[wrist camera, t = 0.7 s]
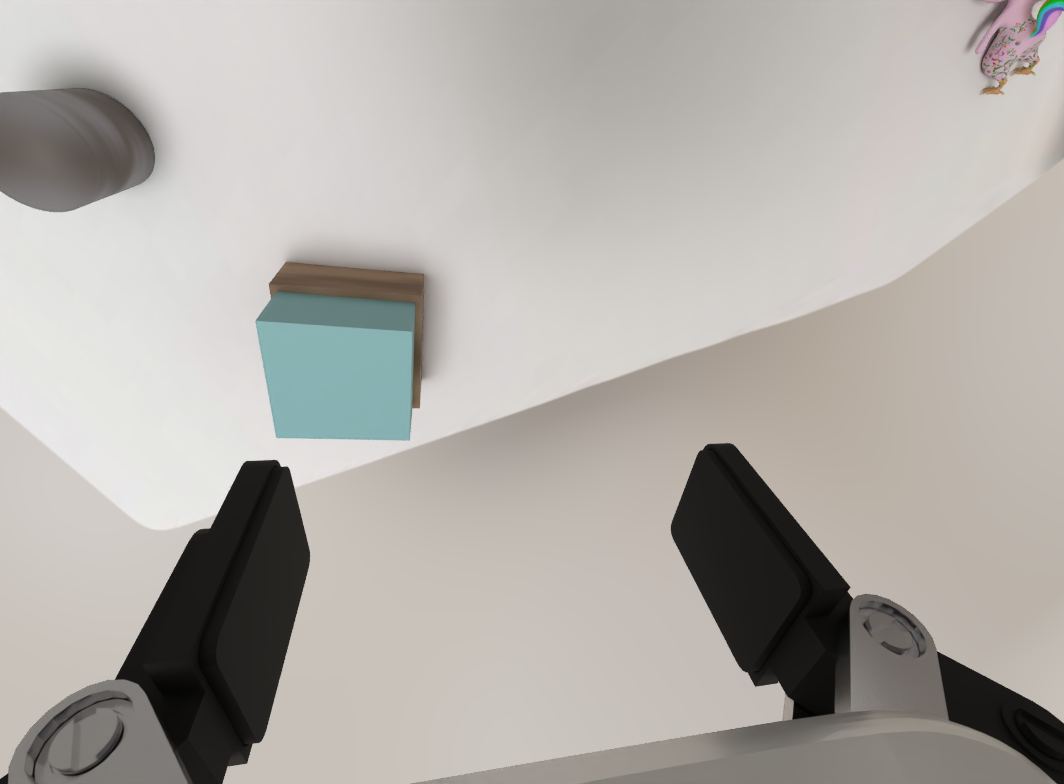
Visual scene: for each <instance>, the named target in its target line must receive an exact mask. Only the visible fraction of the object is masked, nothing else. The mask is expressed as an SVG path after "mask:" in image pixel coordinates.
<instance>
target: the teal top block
mask: <svg viewBox="0 0 1064 784" xmlns="http://www.w3.org/2000/svg"><path fill="white" fill-rule="evenodd" d="M256 326H257V332H258V338H259V343H260V349H261V354H262V360H263V366H264V371H265V377H266V382H267V388H268V394H269V399H270V405H271V410H272V416H273V422H274V427H275V433H276V438H310V439H362V440H410V429H411V417H412V405H413V367H414V329H415V303H412V302H400V301H388V300H376V299H364V298H352V297H340V296H328V295H316V294H304V293H292V292H280V291H277V292H276V293H275V295H274V296H273V297H272V299H271V300H270V302H269V303H268V304H267V306H266V307H265V308H264V310H263V311H262V313H261V314H260V315H259V317H258V318H257V319H256Z"/></svg>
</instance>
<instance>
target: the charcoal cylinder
mask: <svg viewBox="0 0 1064 784" xmlns="http://www.w3.org/2000/svg"><path fill="white" fill-rule="evenodd" d="M154 163H155V154H154V148H153V145H152V142H151V139H150V137H149V135H148V133H147V131H146V130H145V128H144V126H143V125H142V124H141V122H140V121H139V120H138V119H137V118H136V116H135V115H134V114H133V113H132V112H131V111H130V110H128V109H127V108H126V107H125V106H124V105H122V104H121V103H119V102H118V101H116V100H115V99H113V98H111V97H109V96H108V95H105V94H103V93H101V92H98V91H95V90H90V89H84V88H72V89H54V90H37V91H20V92H2V93H0V191H1V192H2V193H4V194H5V195H7V196H9V197H10V198H12V199H14V200H16V201H18V202H20V203H22V204H24V205H27V206H29V207H32V208H35V209H39V210H43V211H49V212H67V211H71V210H75V209H77V208H80V207H82V206H85V205H87V204H90V203H93V202H95V201H98V200H100V199H103V198H105V197H108V196H111V195H113V194H116V193H118V192H121V191H123V190H126V189H129V188H131V187H134V186H136V185H139V184H141V183H142V182H144V181H145V180H146V179H147V178H148V177H149V176H150V175H151V173H152V171H153V168H154Z"/></svg>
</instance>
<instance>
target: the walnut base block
mask: <svg viewBox="0 0 1064 784" xmlns="http://www.w3.org/2000/svg"><path fill="white" fill-rule="evenodd" d="M423 287H424V274H415V273H403V272H392V271H380V270H369V269H357V268H346V267H334V266H323V265H311V264H300V263H288V262H286V263H285V264H284V265H283V267H282V268H281V269H280V271H279V272H278V273H277V274H276V276H275V277H274V278H273V279H272V281H271V282H270V283H269V288H270V294H271V299H272V297H273V296H274V295H275V293H276V292H277V291H280V292H292V293H304V294H316V295H328V296H340V297H352V298H364V299H376V300H388V301H400V302H412V303H415V329H414V367H413V405H412V408H420V393H421V371H422V329H423Z"/></svg>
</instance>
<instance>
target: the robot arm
mask: <svg viewBox="0 0 1064 784" xmlns="http://www.w3.org/2000/svg"><path fill="white" fill-rule="evenodd" d="M671 534H672V537H673V539H674V541H675V543H676V545H677V547H678V549H679V551H680V553H681V555H682V557H683V559H684V561H685V563H686V565H687V567H688V569H689V570H690V572H691V574H692V576H693V578H694V580H695V582H696V584H697V586H698V588H699V590H700V592H701V594H702V596H703V598H704V599H705V602H706V603H707V605H708V607H709V609H710V611H711V613H712V615H713V617H714V619H715V621H716V623H717V625H718V627H719V628H720V630H721V632H722V634H723V636H724V638H725V640H726V642H727V644H728V646H729V648H730V650H731V652H732V654H733V656H734V658H735V660H736V662H737V663H738V665H739V667H740V668H741V669H742V670H743V671H745V672H748V674H749V676H750V678H751V680H752V681H753V683H754V685H755V686H763V685H769V684H775V683H778V681H779V683H780V684H781V686H782V688H783V690H784V691H785V703H784V711H783V721H779V722H773V723H767V724H761V725H755V726H749V727H742V728H736V729H730V730H725V731H718V732H712V733H706V734H700V735H694V736H687V737H681V738H676V739H669V740H663V741H657V742H651V743H645V744H640V745H633V746H628V747H622V748H616V749H610V750H604V751H598V752H592V753H586V754H580V755H574V756H568V757H563V758H557V759H551V760H545V761H539V762H533V763H527V764H521V765H515V766H510V767H504V768H498V769H493V770H487V771H482V772H475V773H470V774H464V775H458V776H452V777H447V778H441V779H436V780H429V781H424V782H419V783H412V784H1064V723H1062V722H1061V721H1060V720H1059V719H1057V718H1056V717H1055V716H1054V715H1052V714H1051V713H1050V712H1049V711H1047V710H1046V709H1044V708H1043V707H1041V706H1039V705H1038V704H1036V703H1034V702H1033V701H1031V700H1029V699H1027V698H1025V697H1023V696H1022V695H1020V694H1018V693H1016V692H1014V691H1012V690H1010V689H1008V688H1006V687H1004V686H1002V685H1000V684H998V683H996V682H994V681H993V680H991V679H989V678H987V677H985V676H983V675H981V674H979V673H978V672H976V671H974V670H972V669H970V668H968V667H966V666H964V665H962V664H960V663H958V662H956V661H955V660H953V659H951V658H949V657H947V656H945V655H943V654H941V653H939V652H937V650H936V647H935V644H934V641H933V639H932V637H931V635H930V634H929V632H928V631H927V629H926V628H925V626H924V625H923V624H922V623H921V622H920V621H919V620H918V619H917V618H916V617H915V616H914V615H913V614H911V613H910V612H909V611H907V610H906V609H905V608H903V607H902V606H900V605H898V604H897V603H895V602H893V601H891V600H889V599H886V598H883V597H880V596H878V595H871V594H863V595H859V596H857V597H855V598H854V599H853V598H852V597H851V596H850V594H849V593H848V592H847V591H848V590H849V588H850V586H849V585H848V584H847V582H846V581H845V580H844V579H843V578H842V576H841V575H840V574H839V573H838V571H837V570H836V569H835V568H834V567H833V565H832V564H831V563H830V562H829V560H828V559H827V558H826V557H825V556H824V554H823V553H822V552H821V551H820V549H819V548H818V547H817V546H816V544H815V543H814V542H813V541H812V540H811V538H810V537H809V536H808V535H807V533H806V532H805V531H804V530H803V529H802V527H801V526H800V525H799V524H798V522H797V521H796V520H795V519H794V517H793V516H792V515H791V514H790V513H789V511H788V510H787V509H786V508H785V507H784V505H783V504H782V503H781V502H780V500H779V499H778V498H777V497H776V495H775V494H774V493H773V492H772V491H771V489H770V488H769V487H768V486H767V484H766V483H765V482H764V481H763V479H762V478H761V477H760V476H759V475H758V474H757V472H756V471H755V470H754V469H753V467H752V466H751V465H750V464H749V462H748V461H747V460H746V459H745V457H744V456H743V455H742V454H741V453H740V451H739V450H738V449H737V448H736V447H735V446H734V445H733V444H730V443H724V444H708V445H707V446H705V448H704V449H703V450H702V451H700V452H699V453H698V455H697V457H696V460H695V463H694V465H693V468H692V471H691V473H690V476H689V478H688V481H687V484H686V486H685V489H684V492H683V494H682V497H681V500H680V502H679V505H678V507H677V510H676V513H675V515H674V518H673V521H672V524H671ZM309 562H310V550H309V546H308V542H307V538H306V534H305V530H304V526H303V522H302V517H301V513H300V509H299V505H298V501H297V497H296V494H295V489H294V485H293V481H292V477H291V473H290V470H289V468H288V467H281V466H280V464H279V462H278V461H277V460H264V461H246V462H245V463H244V464H243V465H242V467H241V469H240V471H239V473H238V475H237V477H236V479H235V481H234V483H233V485H232V487H231V489H230V490H229V492H228V494H227V496H226V498H225V500H224V502H223V504H222V506H221V508H220V510H219V512H218V514H217V516H216V518H215V520H214V522H213V524H212V526H211V528H210V529H200V530H198V531H197V532H196V533H194V535H193V536H192V538H191V539H190V541H189V542H188V544H187V546H186V548H185V550H184V552H183V554H182V555H181V557H180V559H179V561H178V563H177V565H176V567H175V568H174V570H173V572H172V574H171V576H170V578H169V580H168V581H167V583H166V585H165V587H164V589H163V591H162V593H161V594H160V597H159V598H158V600H157V602H156V604H155V606H154V608H153V610H152V611H151V613H150V615H149V617H148V619H147V621H146V623H145V624H144V626H143V628H142V630H141V632H140V634H139V636H138V638H137V639H136V641H135V643H134V645H133V647H132V649H131V651H130V652H129V654H128V656H127V658H126V660H125V662H124V664H123V666H122V667H121V669H120V671H119V673H118V675H117V677H116V679H115V680H107V681H103V682H100V683H97V684H93V685H90V686H87V687H85V688H84V689H81V690H79V691H77V692H75V693H73V694H72V695H70V696H68V697H67V698H65V699H64V700H62V701H61V702H60V703H58V704H57V705H55V706H54V707H53V708H51V709H50V710H48V712H46V713H45V715H43V716H42V718H40V719H39V720H38V721H37V722H36V723H35V724H34V725H33V726H32V727H31V728H30V729H29V731H28V732H27V734H26V735H25V737H24V738H23V739H22V741H21V742H20V744H19V745H18V747H17V748H16V750H15V753H14V755H13V758H12V760H11V763H10V765H9V773H8V774H7V775H5V776H4V777H3V778H1V779H0V784H222V783H223V780H224V776H225V773H226V770H227V766H234V765H240V764H247V761H248V758H249V755H250V751H251V747H252V744H253V743H259V742H261V741H262V739H263V737H264V735H265V732H266V729H267V725H268V721H269V717H270V714H271V710H272V706H273V702H274V698H275V694H276V690H277V687H278V683H279V679H280V675H281V671H282V668H283V664H284V660H285V656H286V652H287V649H288V645H289V640H290V637H291V633H292V629H293V626H294V622H295V618H296V614H297V610H298V606H299V603H300V598H301V595H302V591H303V587H304V584H305V580H306V576H307V572H308V568H309Z"/></svg>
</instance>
